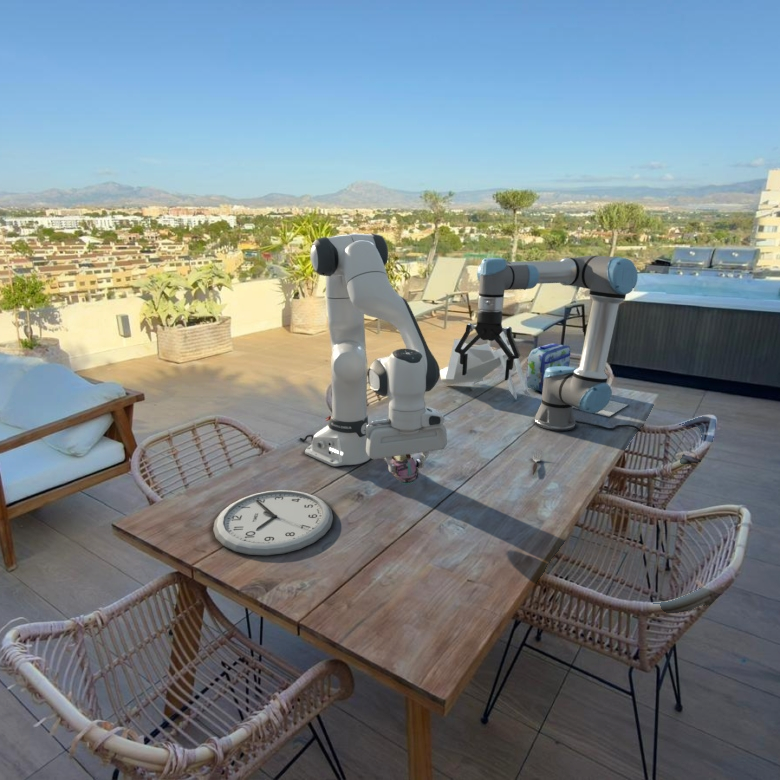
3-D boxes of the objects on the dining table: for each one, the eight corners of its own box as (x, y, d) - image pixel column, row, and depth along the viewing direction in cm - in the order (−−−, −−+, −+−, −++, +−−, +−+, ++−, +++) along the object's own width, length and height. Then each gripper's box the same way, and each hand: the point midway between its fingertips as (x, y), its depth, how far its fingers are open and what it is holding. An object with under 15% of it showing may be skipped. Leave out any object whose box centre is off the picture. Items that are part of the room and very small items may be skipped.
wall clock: (331, 546, 121) (198, 551, 119) (331, 552, 122) (199, 557, 119) (333, 485, 150) (227, 488, 147) (334, 490, 150) (227, 493, 148)
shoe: (396, 445, 151) (396, 417, 149) (426, 483, 129) (427, 451, 127) (368, 448, 149) (367, 420, 146) (394, 488, 127) (394, 456, 124)
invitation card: (608, 416, 214) (573, 407, 224) (608, 416, 214) (573, 408, 224) (628, 404, 229) (594, 396, 238) (628, 405, 229) (594, 397, 238)
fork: (528, 475, 162) (529, 469, 161) (533, 455, 176) (534, 449, 176) (537, 476, 161) (537, 470, 160) (541, 456, 175) (542, 451, 175)
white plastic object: (461, 429, 252) (437, 405, 227) (444, 352, 274) (420, 323, 250) (535, 404, 240) (518, 377, 215) (510, 326, 262) (492, 293, 237)
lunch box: (542, 395, 240) (547, 351, 233) (522, 390, 247) (526, 347, 241) (569, 384, 257) (575, 343, 251) (550, 380, 264) (554, 339, 258)
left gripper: (369, 426, 120) (370, 480, 124) (450, 416, 126) (448, 468, 130) (361, 417, 126) (362, 469, 130) (440, 408, 132) (438, 458, 136)
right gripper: (447, 308, 161) (444, 375, 168) (530, 315, 152) (523, 384, 159) (453, 305, 168) (450, 369, 174) (533, 311, 159) (526, 378, 165)
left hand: (406, 469), depth 130 cm, fingers closed on shoe, 6 cm apart
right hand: (485, 376), depth 167 cm, fingers open, 13 cm apart
